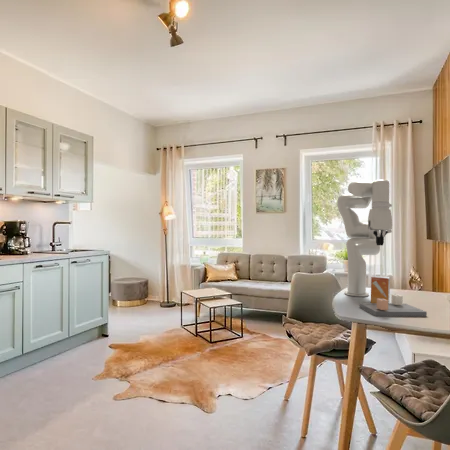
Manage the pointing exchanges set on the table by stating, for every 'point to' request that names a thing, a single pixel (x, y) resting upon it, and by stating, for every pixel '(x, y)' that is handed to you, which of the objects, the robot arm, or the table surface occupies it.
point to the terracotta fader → (382, 304)
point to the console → (393, 310)
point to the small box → (380, 288)
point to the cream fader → (397, 299)
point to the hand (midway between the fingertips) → (379, 245)
